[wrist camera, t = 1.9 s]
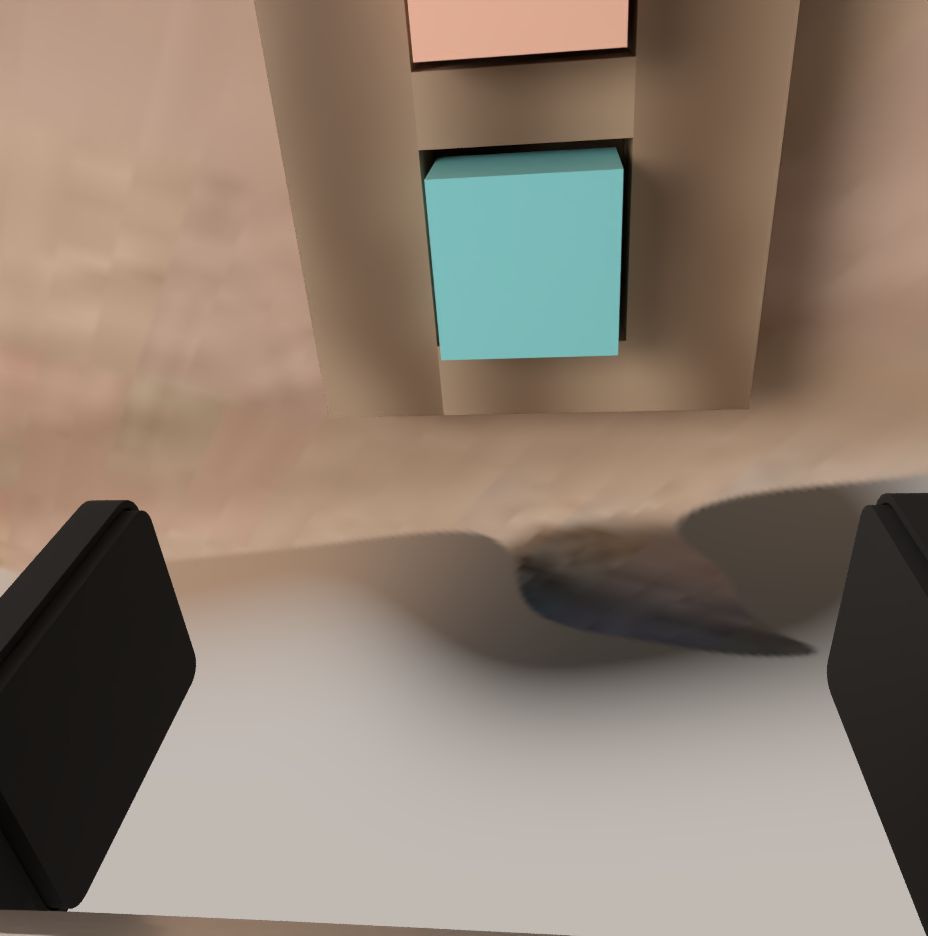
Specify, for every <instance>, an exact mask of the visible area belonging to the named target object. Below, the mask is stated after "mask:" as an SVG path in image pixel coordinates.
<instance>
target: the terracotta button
mask: <svg viewBox="0 0 928 936" xmlns="http://www.w3.org/2000/svg"><path fill="white" fill-rule="evenodd" d="M407 2H408V12H409V23H410V33H411V44H412V55H413V62H427V61H441V60H455V59H469V58H482V57H496V56H510V55H524V54H538V53H552V52H566V51H579V50H593V49H607V48H621V47H627V32H628V0H407Z"/></svg>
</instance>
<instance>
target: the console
mask: <svg viewBox="0 0 928 936" xmlns="http://www.w3.org/2000/svg"><path fill="white" fill-rule="evenodd" d="M254 4H255V9H256V15H257V20H258V26H259V31H260V37H261V43H262V48H263V54H264V59H265V65H266V70H267V76H268V82H269V87H270V93H271V98H272V104H273V109H274V115H275V121H276V126H277V132H278V137H279V143H280V148H281V154H282V160H283V165H284V171H285V176H286V182H287V187H288V193H289V199H290V204H291V210H292V215H293V221H294V226H295V232H296V238H297V243H298V249H299V254H300V260H301V265H302V271H303V276H304V282H305V288H306V293H307V299H308V304H309V310H310V315H311V321H312V327H313V332H314V338H315V343H316V349H317V354H318V360H319V366H320V371H321V377H322V382H323V388H324V393H325V399H326V405H327V410H328V416H329V418H332V417H380V416H429V415H478V414H526V413H575V412H624V411H672V410H721V409H749V406H750V398H751V390H752V382H753V374H754V366H755V358H756V350H757V342H758V334H759V326H760V318H761V310H762V302H763V294H764V286H765V278H766V270H767V262H768V254H769V246H770V238H771V230H772V222H773V214H774V206H775V198H776V190H777V182H778V174H779V166H780V158H781V150H782V142H783V134H784V126H785V118H786V110H787V102H788V94H789V86H790V78H791V70H792V62H793V54H794V46H795V38H796V30H797V22H798V14H799V6H800V0H629V1H628V36H627V47H621V48H607V49H593V50H579V51H566V52H552V53H538V54H524V55H510V56H496V57H482V58H469V59H455V60H441V61H427V62H413V55H412V44H411V33H410V23H409V12H408V2H407V0H254ZM618 138H624V172H623V206H622V240H621V274H620V307H619V339H618V355H612V356H577V357H542V358H507V359H472V360H441V353H440V342H439V331H438V321H437V310H436V300H435V289H434V278H433V268H432V257H431V246H430V236H429V225H428V214H427V204H426V193H425V182H424V179H425V178H426V176H427V174H428V173H429V171H430V170H431V168H432V166H433V165H434V152H433V149H450V148H467V147H484V146H500V145H517V144H534V143H551V142H568V141H585V140H602V139H618Z"/></svg>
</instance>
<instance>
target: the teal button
mask: <svg viewBox="0 0 928 936" xmlns="http://www.w3.org/2000/svg"><path fill="white" fill-rule="evenodd" d="M424 182H425V193H426V204H427V214H428V225H429V236H430V246H431V257H432V268H433V278H434V289H435V300H436V310H437V321H438V331H439V342H440V353H441V360H472V359H507V358H542V357H577V356H612V355H618V339H619V305H620V271H621V237H622V203H623V166H622V163H621V160H620V158H619V155H618V152H617V149H616V147H607V148H590V149H573V150H555V151H538V152H521V153H504V154H487V155H469V156H452V157H438V158H437V160H436V161H435V163H434V165H433V166H432V168H431V170H430V171H429V173H428V174H427V176H426V178H425V179H424Z"/></svg>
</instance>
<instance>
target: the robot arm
mask: <svg viewBox="0 0 928 936" xmlns="http://www.w3.org/2000/svg"><path fill="white" fill-rule="evenodd" d="M195 668H196V658H195V653H194V650H193V647H192V644H191V641H190V638H189V634H188V631H187V628H186V625H185V622H184V619H183V616H182V613H181V610H180V607H179V604H178V601H177V598H176V594H175V592H174V588H173V585H172V582H171V579H170V576H169V573H168V570H167V567H166V564H165V561H164V557H163V554H162V551H161V548H160V545H159V542H158V539H157V536H156V533H155V530H154V527H153V524H152V521H151V518H150V516H149V515H148V514H147V512H145V511H139V509H138V507H137V506H136V505H135V504H134V503H133V502H131V501H129V500H96V501H87V502H85V503H84V504H82V505H81V506H80V507H79V508H78V509H77V511H76V512H75V513H74V514H73V515H72V516H71V517H70V519H69V520H68V521H67V522H66V523H65V524H64V525H63V527H62V528H61V529H60V530H59V531H58V532H57V533H56V535H55V536H54V537H53V538H52V539H51V540H50V541H49V543H48V544H47V545H46V546H45V547H44V548H43V549H42V551H41V552H40V553H39V554H38V555H37V556H36V557H35V559H34V560H33V561H32V562H31V563H30V564H29V565H28V567H27V568H26V569H25V570H24V571H23V572H22V573H21V575H20V576H19V577H18V578H17V579H16V580H15V581H14V583H13V584H12V585H11V586H10V587H9V588H8V590H7V591H6V592H5V593H4V594H3V595H2V596H1V597H0V936H568V935H550V934H530V933H529V934H528V933H510V932H490V931H470V930H451V929H431V928H410V927H391V926H371V925H350V924H349V925H348V924H329V923H309V922H289V921H268V920H245V919H222V918H199V917H177V916H155V915H132V914H110V913H107V914H106V913H87V912H86V913H85V912H67V910H68V909H72V908H74V907H76V906H78V905H79V904H80V902H82V900H83V898H84V897H85V895H86V893H87V892H88V890H89V888H90V886H91V884H92V882H93V879H94V878H95V876H96V874H97V872H98V869H99V868H100V865H101V864H102V862H103V860H104V858H105V855H106V854H107V851H108V850H109V847H110V845H111V843H112V841H113V839H114V838H115V836H116V834H117V831H118V829H119V828H120V826H121V824H122V822H123V820H124V818H125V815H126V813H127V812H128V810H129V808H130V806H131V803H132V801H133V800H134V798H135V796H136V793H137V792H138V789H139V788H140V786H141V783H142V782H143V779H144V778H145V776H146V774H147V771H148V770H149V768H150V766H151V764H152V762H153V760H154V758H155V755H156V753H157V751H158V750H159V747H160V745H161V744H162V741H163V740H164V737H165V736H166V733H167V731H168V730H169V728H170V726H171V724H172V721H173V719H174V718H175V716H176V713H177V712H178V710H179V708H180V706H181V704H182V701H183V699H184V698H185V696H186V694H187V692H188V689H189V687H190V686H191V684H192V681H193V679H194V675H195ZM827 678H828V685H829V689H830V692H831V695H832V698H833V700H834V703H835V705H836V708H837V710H838V713H839V716H840V718H841V721H842V723H843V726H844V728H845V731H846V733H847V736H848V738H849V741H850V743H851V746H852V748H853V751H854V754H855V756H856V759H857V761H858V764H859V766H860V769H861V771H862V774H863V776H864V779H865V781H866V784H867V786H868V789H869V792H870V794H871V797H872V799H873V802H874V804H875V807H876V809H877V812H878V814H879V817H880V819H881V822H882V824H883V827H884V829H885V832H886V834H887V837H888V839H889V842H890V844H891V847H892V850H893V852H894V854H895V857H896V860H897V862H898V865H899V867H900V870H901V873H902V875H903V878H904V880H905V883H906V885H907V888H908V890H909V893H910V895H911V898H912V900H913V903H914V905H915V908H916V910H917V913H918V916H919V918H920V921H921V923H922V926H923V928H924V931H925V933H926V935H927V936H928V493H894V494H893V493H892V494H891V493H889V494H888V493H886V494H883V495H881V497H880V498H879V499H878V501H877V504H876V505H867V506H865V508H864V509H863V510H862V513H861V516H860V521H859V525H858V530H857V534H856V538H855V543H854V547H853V552H852V556H851V561H850V565H849V570H848V574H847V578H846V583H845V587H844V592H843V596H842V601H841V606H840V610H839V614H838V619H837V623H836V627H835V632H834V637H833V641H832V645H831V650H830V654H829V659H828V665H827Z"/></svg>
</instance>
